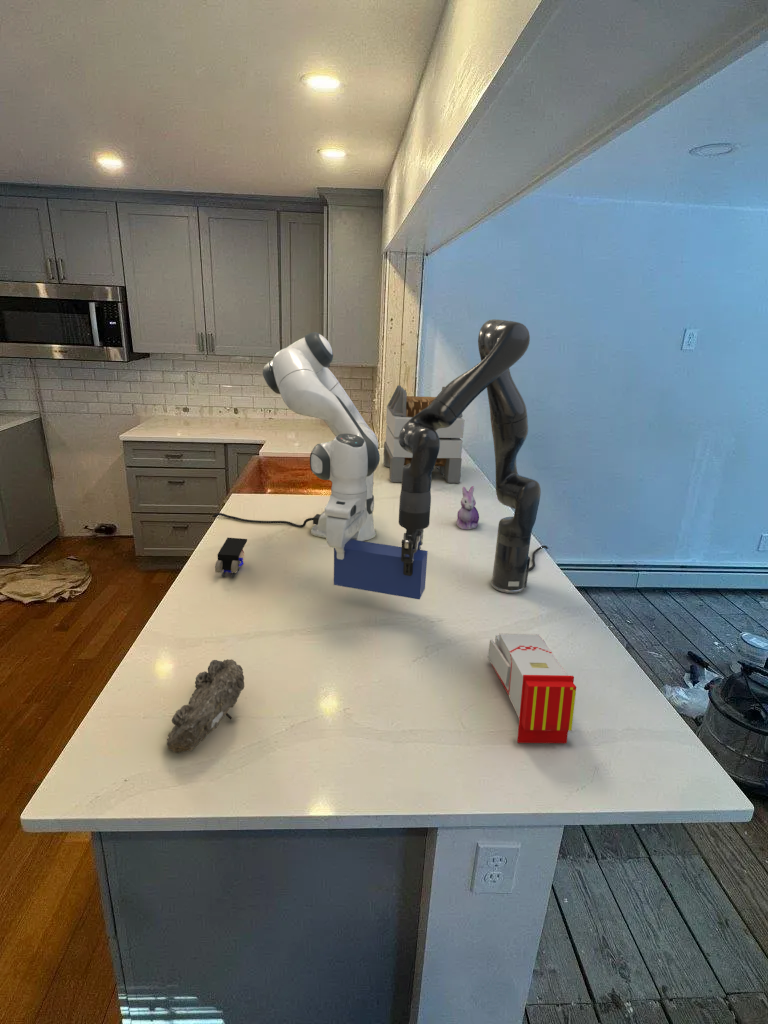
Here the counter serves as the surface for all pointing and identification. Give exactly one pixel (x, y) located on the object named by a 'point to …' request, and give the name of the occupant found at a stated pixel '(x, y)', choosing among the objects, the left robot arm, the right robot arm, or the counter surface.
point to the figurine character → (230, 556)
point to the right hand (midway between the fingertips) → (411, 569)
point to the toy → (534, 687)
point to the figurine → (468, 510)
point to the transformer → (450, 442)
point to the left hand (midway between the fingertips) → (347, 551)
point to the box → (379, 569)
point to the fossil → (206, 705)
